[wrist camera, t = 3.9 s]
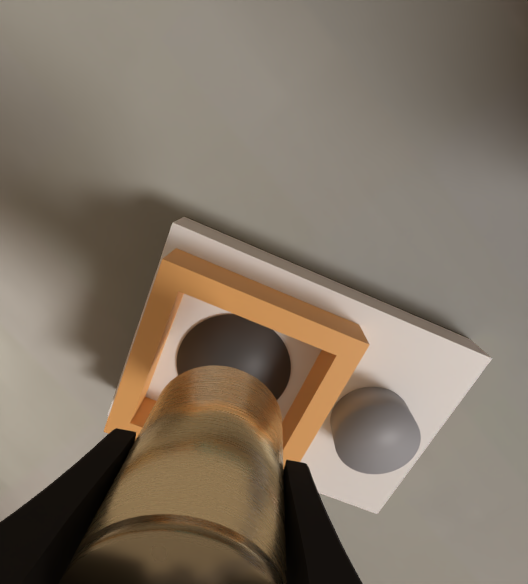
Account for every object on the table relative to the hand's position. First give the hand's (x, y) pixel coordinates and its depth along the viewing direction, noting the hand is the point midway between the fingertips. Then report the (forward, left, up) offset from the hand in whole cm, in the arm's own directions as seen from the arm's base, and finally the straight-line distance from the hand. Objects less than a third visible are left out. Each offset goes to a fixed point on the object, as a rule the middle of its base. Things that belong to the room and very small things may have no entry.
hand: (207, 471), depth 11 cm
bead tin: (0, 0, -2) cm, 2 cm away
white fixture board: (-3, 0, -9) cm, 9 cm away
